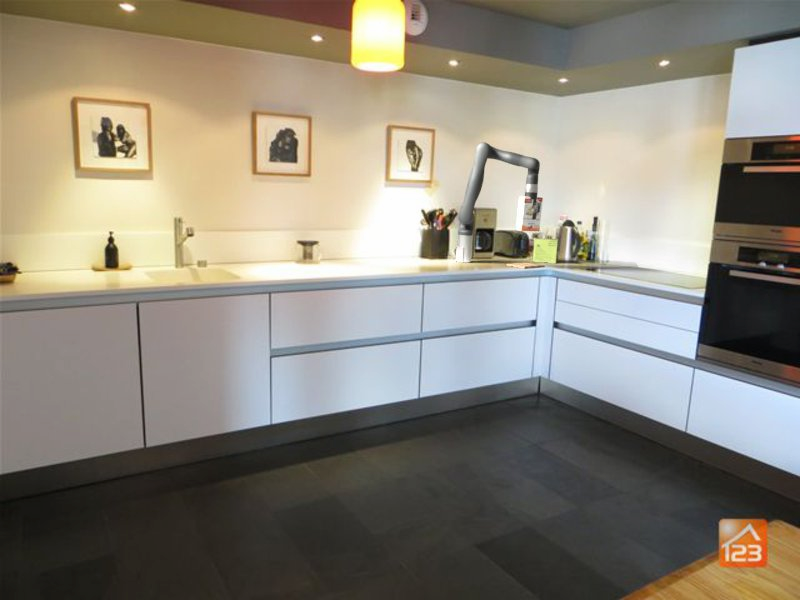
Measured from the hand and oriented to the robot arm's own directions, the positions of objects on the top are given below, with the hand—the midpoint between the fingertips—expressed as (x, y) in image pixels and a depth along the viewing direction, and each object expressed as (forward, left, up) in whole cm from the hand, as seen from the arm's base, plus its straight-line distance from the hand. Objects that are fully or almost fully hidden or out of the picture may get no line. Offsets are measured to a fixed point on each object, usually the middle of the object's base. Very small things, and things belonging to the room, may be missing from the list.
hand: (529, 219), depth 356 cm
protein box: (+36, +11, -30) cm, 48 cm away
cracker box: (0, 0, -8) cm, 8 cm away
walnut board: (0, 0, -29) cm, 29 cm away
